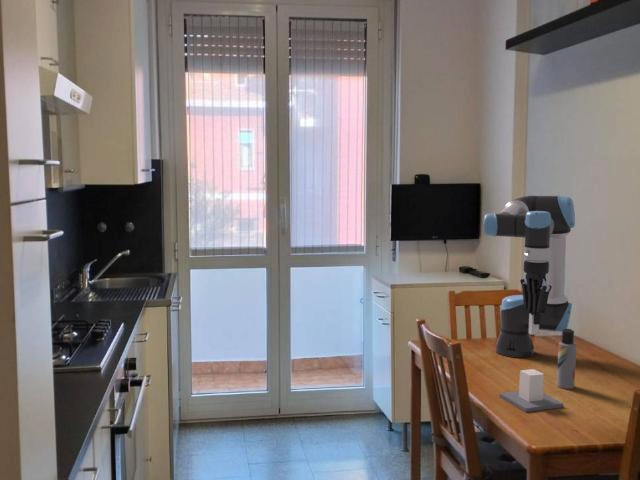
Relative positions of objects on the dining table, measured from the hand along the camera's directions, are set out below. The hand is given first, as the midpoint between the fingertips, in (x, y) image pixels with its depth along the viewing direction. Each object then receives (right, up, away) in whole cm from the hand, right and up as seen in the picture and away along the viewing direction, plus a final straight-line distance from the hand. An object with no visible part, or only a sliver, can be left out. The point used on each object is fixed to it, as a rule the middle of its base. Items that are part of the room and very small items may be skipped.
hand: (533, 333), depth 208 cm
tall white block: (0, -21, +2) cm, 21 cm away
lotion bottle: (+17, -21, +17) cm, 32 cm away
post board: (0, -22, +2) cm, 22 cm away
